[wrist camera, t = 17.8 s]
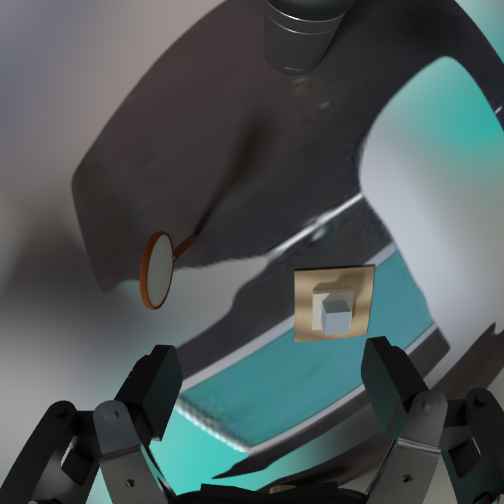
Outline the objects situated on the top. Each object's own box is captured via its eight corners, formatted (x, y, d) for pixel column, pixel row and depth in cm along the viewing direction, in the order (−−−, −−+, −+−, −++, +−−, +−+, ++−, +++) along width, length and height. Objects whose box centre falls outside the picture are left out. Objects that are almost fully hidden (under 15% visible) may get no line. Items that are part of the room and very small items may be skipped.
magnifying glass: (190, 210, 42) (133, 241, 23) (201, 211, 42) (150, 243, 23) (187, 261, 45) (137, 322, 26) (197, 262, 45) (152, 325, 26)
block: (321, 301, 43) (326, 313, 40) (344, 300, 43) (351, 311, 39) (320, 322, 45) (324, 335, 41) (342, 320, 44) (348, 332, 40)
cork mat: (294, 270, 44) (294, 271, 44) (373, 265, 43) (374, 266, 43) (294, 340, 48) (294, 342, 48) (365, 334, 47) (366, 335, 47)
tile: (313, 294, 43) (354, 291, 43) (311, 290, 45) (351, 287, 44) (312, 330, 45) (350, 326, 45) (310, 325, 47) (348, 322, 46)
